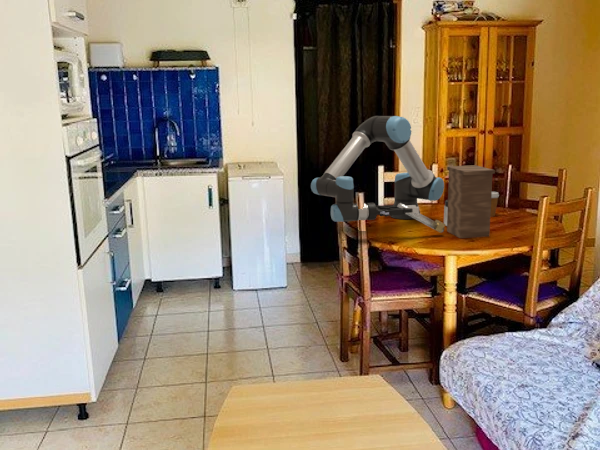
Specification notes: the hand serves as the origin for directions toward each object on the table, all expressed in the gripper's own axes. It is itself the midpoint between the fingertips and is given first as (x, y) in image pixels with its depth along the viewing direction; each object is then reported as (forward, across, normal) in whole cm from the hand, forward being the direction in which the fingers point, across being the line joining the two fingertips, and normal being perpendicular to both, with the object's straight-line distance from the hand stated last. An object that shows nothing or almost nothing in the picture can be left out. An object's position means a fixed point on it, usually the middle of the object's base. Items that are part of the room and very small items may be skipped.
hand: (416, 208), depth 265 cm
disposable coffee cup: (+53, -34, -13) cm, 64 cm away
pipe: (+1, 0, -6) cm, 6 cm away
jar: (+26, -18, -13) cm, 34 cm away
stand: (+25, 0, -13) cm, 28 cm away
